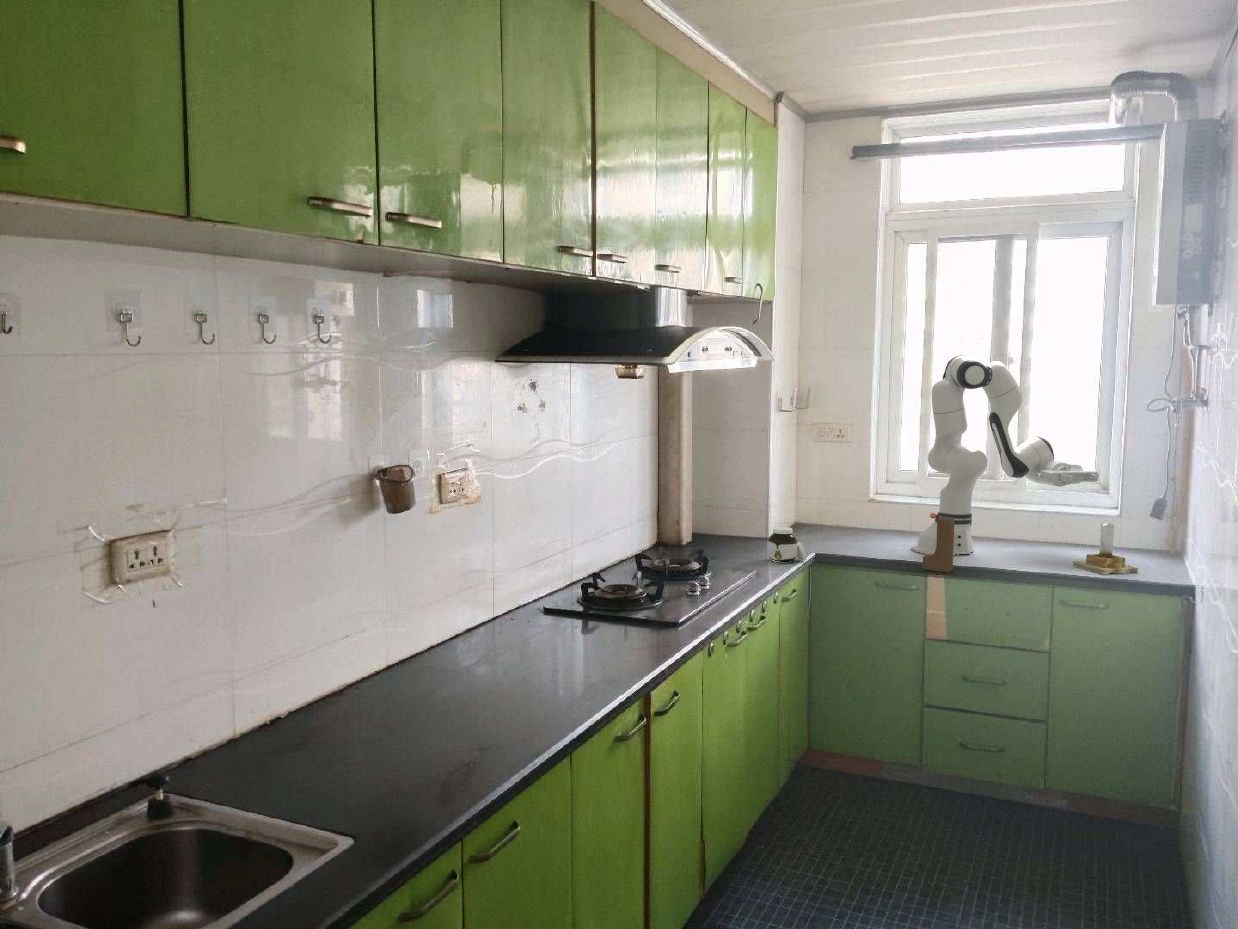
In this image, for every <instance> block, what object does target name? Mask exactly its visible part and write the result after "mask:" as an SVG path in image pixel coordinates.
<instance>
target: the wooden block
mask: <svg viewBox="0 0 1238 929" xmlns="http://www.w3.org/2000/svg"><path fill="white" fill-rule="evenodd" d="M954 522H955V519H954V518H951V517H940V518H938V519H937V542H936V550H935V553H933V554H924V556H922V567H921V568H922V570H925V571H932V572H940V573H950V572H953V569H954V555H953V549H954Z"/></svg>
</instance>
